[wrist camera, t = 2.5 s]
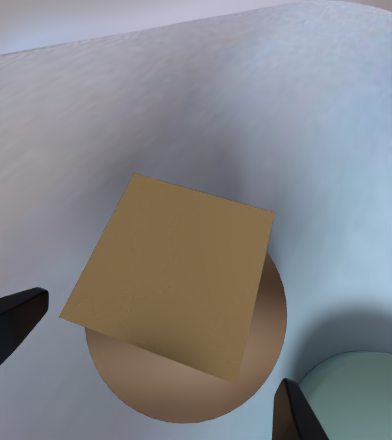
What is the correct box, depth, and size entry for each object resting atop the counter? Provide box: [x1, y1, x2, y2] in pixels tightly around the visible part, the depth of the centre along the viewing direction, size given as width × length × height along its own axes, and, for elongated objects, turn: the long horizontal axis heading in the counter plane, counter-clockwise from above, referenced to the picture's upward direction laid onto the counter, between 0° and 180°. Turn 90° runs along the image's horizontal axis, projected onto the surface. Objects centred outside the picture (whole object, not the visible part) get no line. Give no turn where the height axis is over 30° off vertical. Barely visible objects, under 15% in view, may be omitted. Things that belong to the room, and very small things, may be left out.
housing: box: [59, 173, 275, 385], centre depth 12 cm, size 6×6×9 cm
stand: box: [85, 251, 287, 424], centre depth 18 cm, size 13×13×3 cm
